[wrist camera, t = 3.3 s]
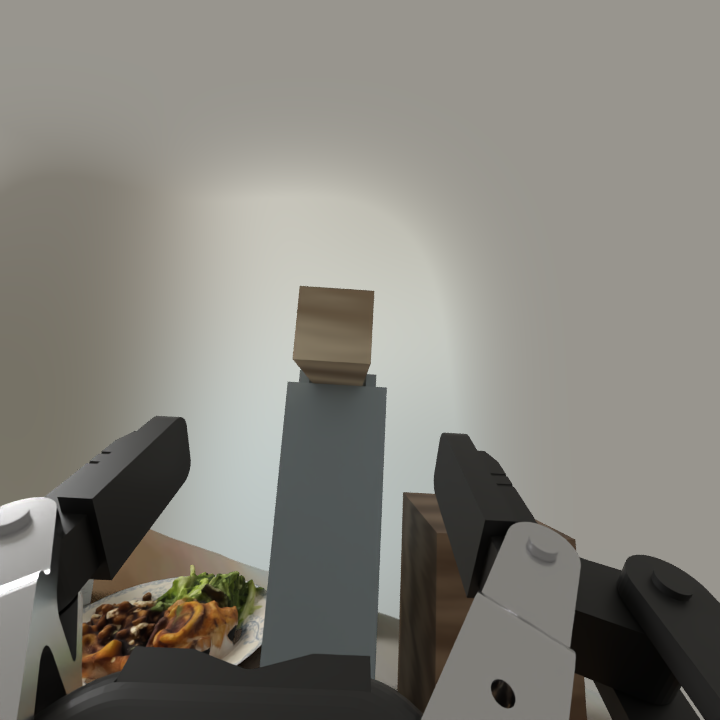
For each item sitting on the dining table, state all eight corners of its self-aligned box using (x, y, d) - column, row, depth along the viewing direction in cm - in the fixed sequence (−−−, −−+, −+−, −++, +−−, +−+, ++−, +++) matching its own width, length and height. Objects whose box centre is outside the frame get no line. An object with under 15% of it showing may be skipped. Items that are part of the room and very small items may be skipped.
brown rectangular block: (370, 364, 17) (374, 290, 18) (292, 359, 17) (299, 286, 18) (356, 400, 43) (358, 369, 43) (325, 398, 43) (327, 367, 43)
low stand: (597, 881, 22) (575, 539, 26) (433, 877, 22) (437, 532, 26) (493, 692, 38) (489, 496, 42) (397, 688, 38) (403, 492, 42)
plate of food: (250, 575, 63) (253, 541, 64) (308, 667, 40) (310, 610, 41) (56, 616, 49) (64, 571, 50) (-30, 796, 26) (-12, 703, 27)
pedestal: (366, 897, 21) (387, 375, 27) (237, 894, 21) (288, 369, 27) (357, 680, 38) (371, 395, 45) (288, 678, 38) (312, 391, 45)
